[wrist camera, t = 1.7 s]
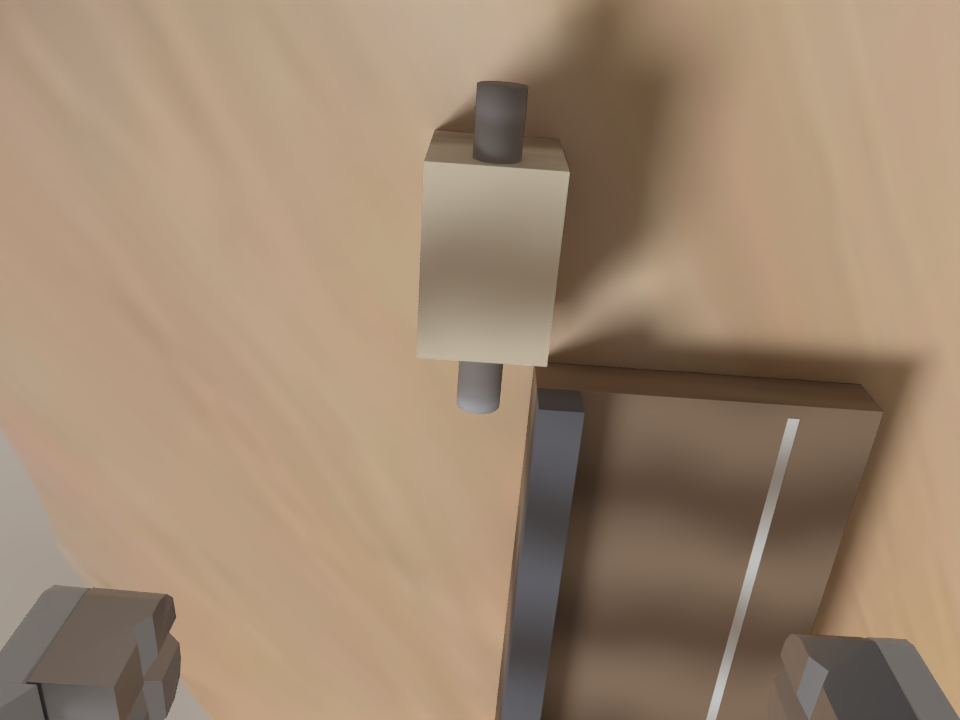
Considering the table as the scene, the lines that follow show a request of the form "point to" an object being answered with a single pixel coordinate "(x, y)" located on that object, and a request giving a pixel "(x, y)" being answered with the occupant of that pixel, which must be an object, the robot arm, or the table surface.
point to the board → (673, 538)
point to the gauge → (490, 245)
